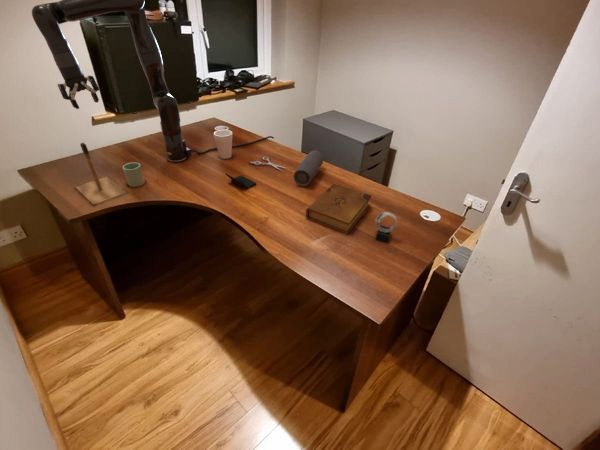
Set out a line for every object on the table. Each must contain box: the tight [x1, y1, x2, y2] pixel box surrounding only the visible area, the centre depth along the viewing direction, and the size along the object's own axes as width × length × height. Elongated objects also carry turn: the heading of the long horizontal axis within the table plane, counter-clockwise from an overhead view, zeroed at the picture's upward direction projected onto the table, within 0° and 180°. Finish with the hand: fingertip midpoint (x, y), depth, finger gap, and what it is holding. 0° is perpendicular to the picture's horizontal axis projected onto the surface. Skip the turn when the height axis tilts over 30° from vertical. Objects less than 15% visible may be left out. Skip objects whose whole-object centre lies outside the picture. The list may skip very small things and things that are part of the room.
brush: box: [80, 142, 102, 190], centre depth 140 cm, size 2×2×22 cm
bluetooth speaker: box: [293, 149, 325, 187], centre depth 159 cm, size 23×9×10 cm, turn 161°
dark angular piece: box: [225, 173, 257, 190], centre depth 154 cm, size 12×7×10 cm
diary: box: [305, 183, 372, 235], centre depth 137 cm, size 23×19×6 cm
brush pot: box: [122, 161, 146, 188], centre depth 150 cm, size 7×8×9 cm
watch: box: [374, 211, 398, 243], centre depth 123 cm, size 6×8×11 cm
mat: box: [75, 176, 127, 206], centre depth 147 cm, size 14×20×1 cm
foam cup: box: [213, 129, 234, 160], centre depth 174 cm, size 10×9×13 cm
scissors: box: [249, 156, 286, 172], centre depth 171 cm, size 11×1×20 cm
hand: (87, 105), depth 141 cm, fingers open, 8 cm apart
